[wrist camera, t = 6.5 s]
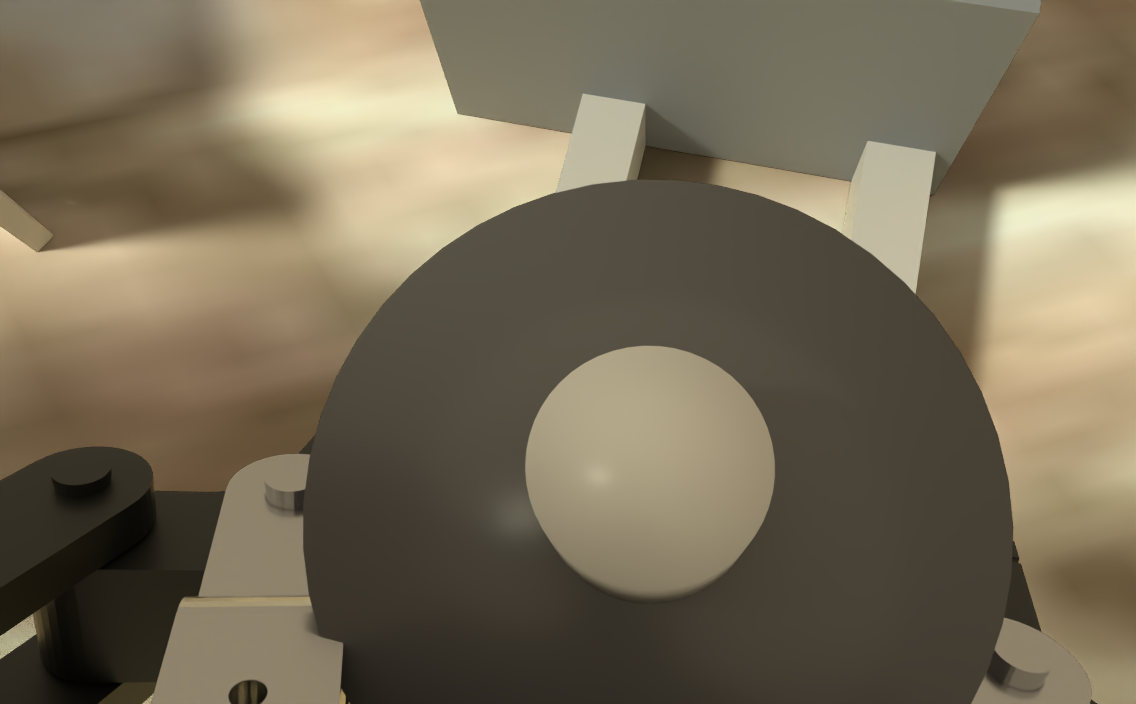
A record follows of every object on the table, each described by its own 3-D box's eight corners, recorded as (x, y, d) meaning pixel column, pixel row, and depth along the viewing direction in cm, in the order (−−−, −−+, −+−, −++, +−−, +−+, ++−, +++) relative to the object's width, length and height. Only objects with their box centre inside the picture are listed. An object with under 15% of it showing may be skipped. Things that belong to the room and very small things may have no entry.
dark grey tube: (457, 720, 16) (131, 780, 6) (536, 424, 18) (387, 58, 7) (769, 805, 16) (1026, 1047, 5) (823, 489, 17) (1102, 182, 7)
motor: (284, 275, 32) (102, 69, 21) (413, -87, 37) (315, -408, 26) (904, 401, 29) (1052, 236, 19) (962, -9, 34) (1109, -335, 23)
